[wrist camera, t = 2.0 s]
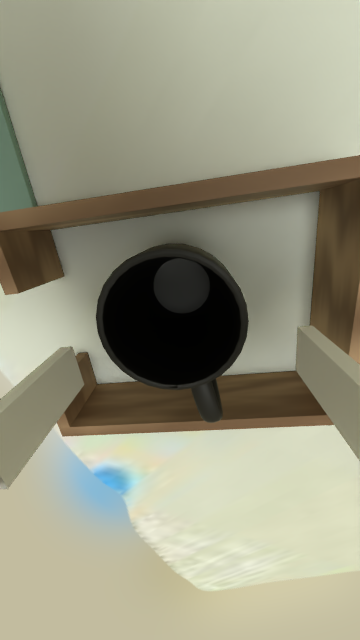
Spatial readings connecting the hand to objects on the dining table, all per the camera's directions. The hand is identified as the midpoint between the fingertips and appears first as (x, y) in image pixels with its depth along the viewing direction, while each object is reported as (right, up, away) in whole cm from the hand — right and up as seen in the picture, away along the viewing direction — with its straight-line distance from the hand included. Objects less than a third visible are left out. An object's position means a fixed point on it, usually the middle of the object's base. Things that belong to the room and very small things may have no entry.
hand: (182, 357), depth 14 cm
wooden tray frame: (+1, +4, +8) cm, 9 cm away
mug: (+1, +4, +8) cm, 9 cm away
